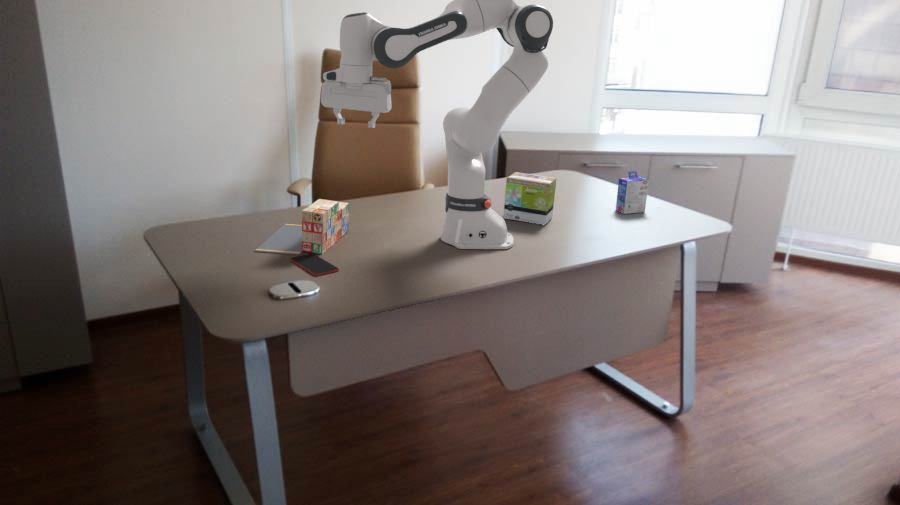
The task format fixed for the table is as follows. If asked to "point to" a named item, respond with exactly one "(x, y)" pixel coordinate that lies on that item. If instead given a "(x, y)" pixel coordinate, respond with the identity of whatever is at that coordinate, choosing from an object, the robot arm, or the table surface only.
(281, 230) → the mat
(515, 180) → the tea box
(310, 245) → the stack of blocks
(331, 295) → the table surface
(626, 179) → the ink cartridge box
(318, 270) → the smartphone
